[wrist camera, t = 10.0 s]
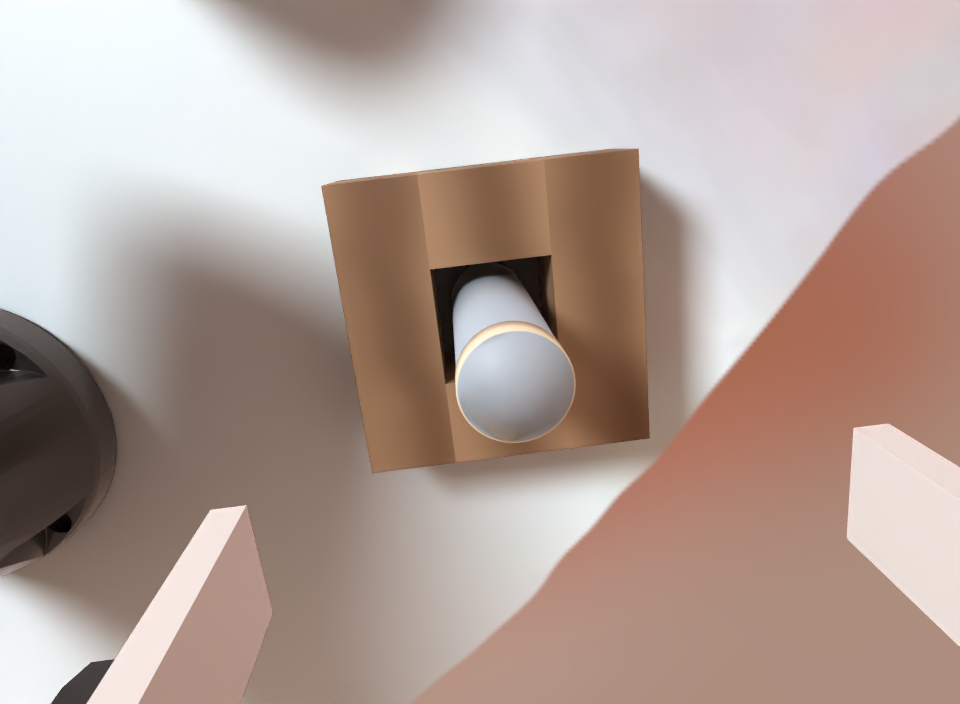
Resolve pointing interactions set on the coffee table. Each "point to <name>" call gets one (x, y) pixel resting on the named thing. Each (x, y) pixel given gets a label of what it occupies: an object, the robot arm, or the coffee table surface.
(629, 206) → the socket block
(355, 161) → the coffee table surface
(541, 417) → the peg
